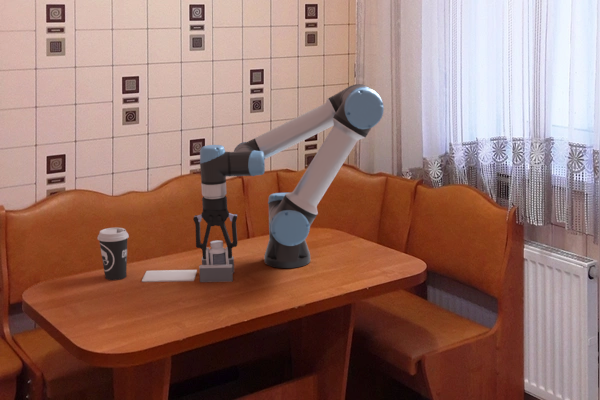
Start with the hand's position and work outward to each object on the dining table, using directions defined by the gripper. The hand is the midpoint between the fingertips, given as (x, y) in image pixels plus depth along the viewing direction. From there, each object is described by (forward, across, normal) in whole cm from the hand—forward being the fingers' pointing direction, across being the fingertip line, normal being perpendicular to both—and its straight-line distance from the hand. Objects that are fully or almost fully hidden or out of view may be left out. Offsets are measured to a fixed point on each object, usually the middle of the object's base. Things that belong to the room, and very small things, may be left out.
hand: (218, 268), depth 264 cm
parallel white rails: (+3, 0, 0) cm, 3 cm away
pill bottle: (+1, 0, 0) cm, 1 cm away
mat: (+3, +15, -2) cm, 16 cm away
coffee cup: (+3, +32, -2) cm, 33 cm away
